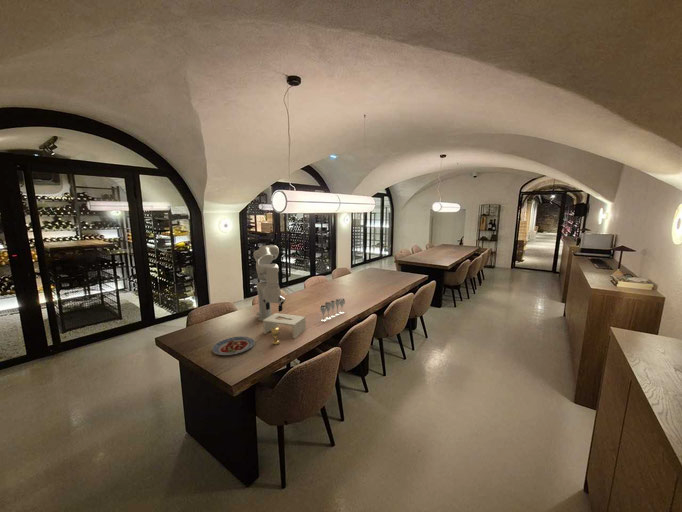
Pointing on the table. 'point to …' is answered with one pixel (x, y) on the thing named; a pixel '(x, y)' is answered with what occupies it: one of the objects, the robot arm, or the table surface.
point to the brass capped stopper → (275, 335)
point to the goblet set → (332, 305)
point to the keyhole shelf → (285, 323)
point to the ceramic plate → (233, 345)
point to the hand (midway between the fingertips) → (274, 310)
